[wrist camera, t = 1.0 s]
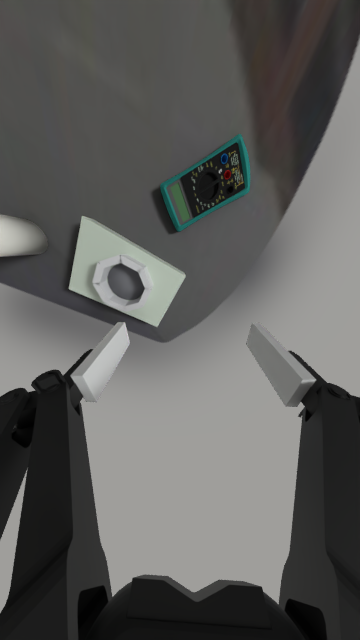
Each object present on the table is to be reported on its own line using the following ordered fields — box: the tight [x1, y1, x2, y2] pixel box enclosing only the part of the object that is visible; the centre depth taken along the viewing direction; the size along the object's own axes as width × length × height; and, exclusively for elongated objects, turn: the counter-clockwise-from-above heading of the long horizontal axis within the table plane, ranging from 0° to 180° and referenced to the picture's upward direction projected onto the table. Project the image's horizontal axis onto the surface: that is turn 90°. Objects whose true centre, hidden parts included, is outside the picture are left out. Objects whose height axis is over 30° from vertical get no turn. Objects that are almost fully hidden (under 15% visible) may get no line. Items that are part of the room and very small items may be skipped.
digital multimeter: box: [160, 134, 250, 232], centre depth 24 cm, size 7×15×3 cm, turn 115°
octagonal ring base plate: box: [69, 216, 186, 327], centre depth 28 cm, size 14×20×7 cm
